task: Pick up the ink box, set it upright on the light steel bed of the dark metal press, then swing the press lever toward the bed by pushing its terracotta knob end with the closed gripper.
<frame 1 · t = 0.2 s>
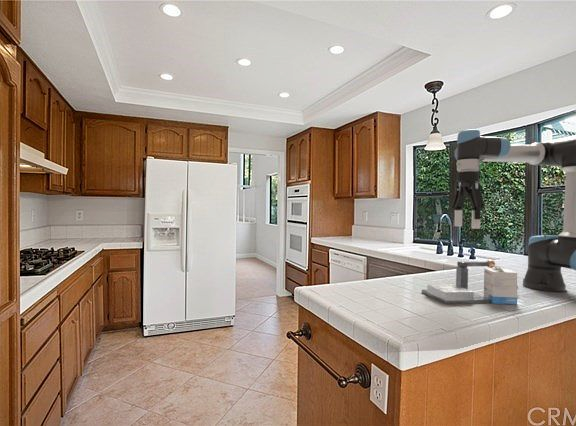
hand: (466, 227, 127), 27 cm above the countertop, fingers open, 13 cm apart
lever: (476, 264, 135), point 12 cm above the countertop, hinge at 0.0°
press: (454, 297, 128), on the countertop
ink box: (499, 301, 124), on the countertop
potato: (504, 294, 136), on the countertop
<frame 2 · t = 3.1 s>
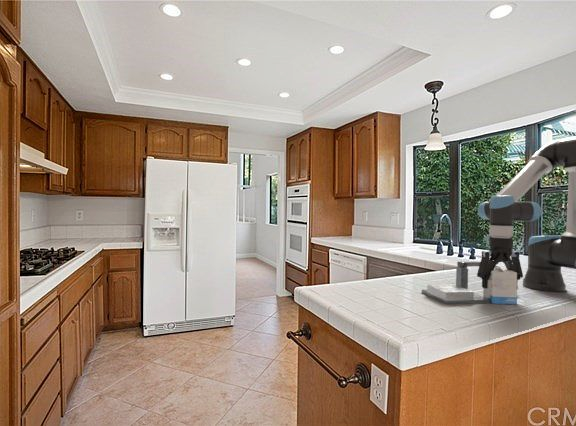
hand: (499, 296, 124), 2 cm above the countertop, fingers closed on ink box, 10 cm apart
ink box: (499, 301, 124), on the countertop, touching gripper
everything else where it was.
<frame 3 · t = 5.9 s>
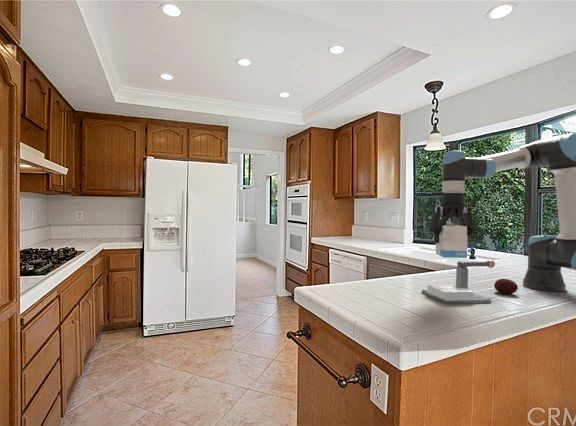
hand: (451, 251, 126), 18 cm above the countertop, fingers closed on ink box, 10 cm apart
ink box: (451, 256, 126), point 16 cm above the countertop, touching gripper
everything else where it was.
when the fingers open (7 cm above the countertop, at t = 8.4 s): ink box drops 1 cm, resting on press.
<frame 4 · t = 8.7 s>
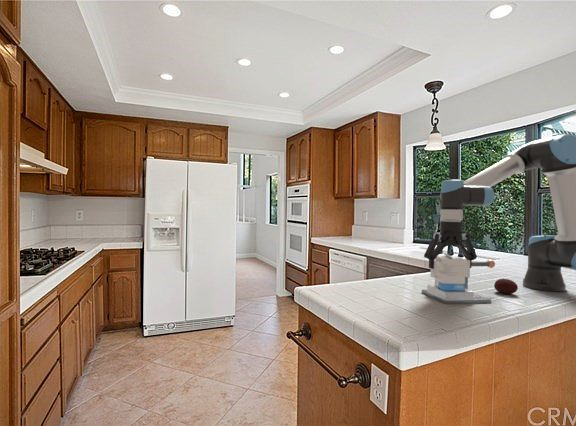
hand: (450, 277, 126), 8 cm above the countertop, fingers open, 13 cm apart
ink box: (449, 288, 126), point 4 cm above the countertop, touching press
everything else where it was.
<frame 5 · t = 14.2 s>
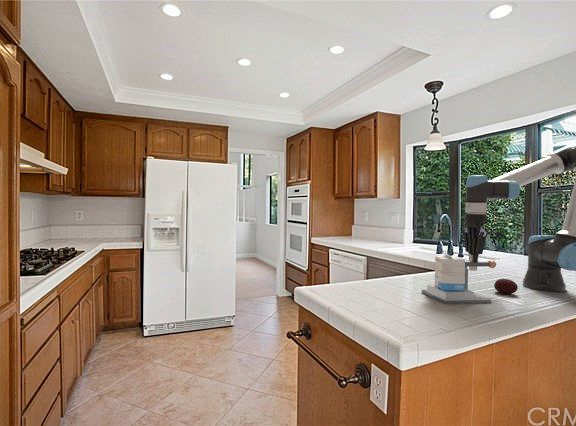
hand: (473, 270, 137), 9 cm above the countertop, fingers closed
lever: (476, 264, 135), point 12 cm above the countertop, hinge at 3.1°, touching gripper
everything else where it was.
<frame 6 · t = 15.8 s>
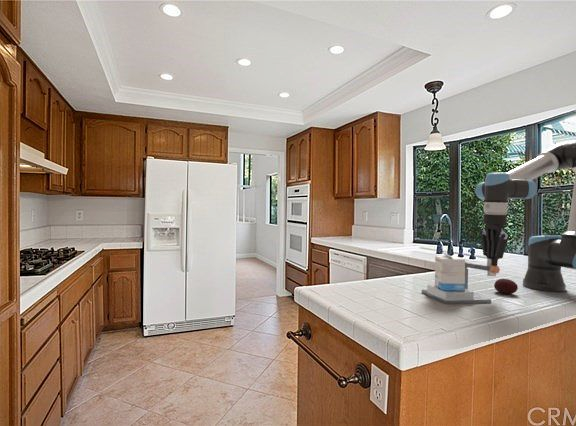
hand: (491, 275, 127), 9 cm above the countertop, fingers closed
lever: (477, 266, 129), point 12 cm above the countertop, hinge at 67.6°, touching gripper
everything else where it was.
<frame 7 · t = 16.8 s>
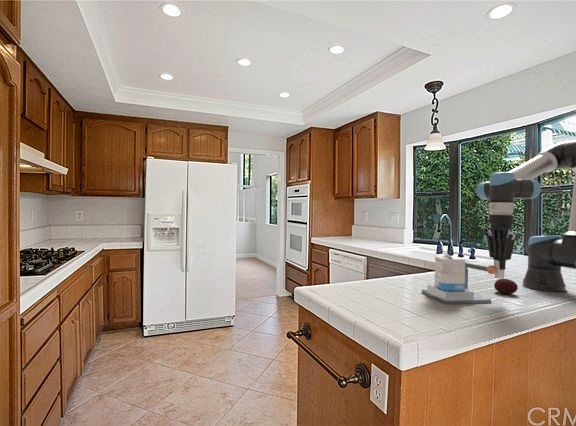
hand: (499, 277, 123), 9 cm above the countertop, fingers closed
lever: (476, 266, 128), point 12 cm above the countertop, hinge at 75.7°
everything else where it was.
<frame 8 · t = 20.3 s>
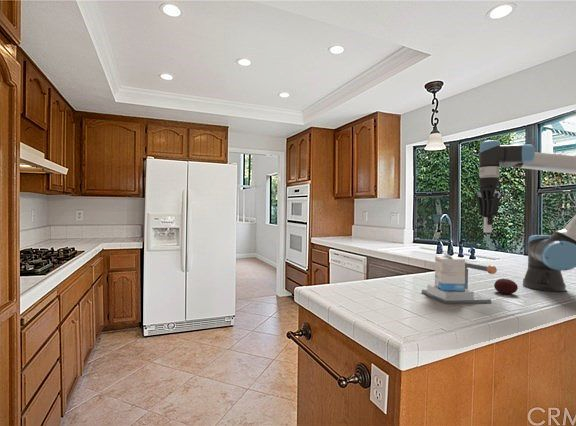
hand: (487, 232, 143), 24 cm above the countertop, fingers closed
nothing on the countertop moved.
at the end: ink box inside the target area on the press (0.2 cm from its centre), point 4.0 cm above the press's base; ink box tilted 0°; lever at +76° (first picture: +0°) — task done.
